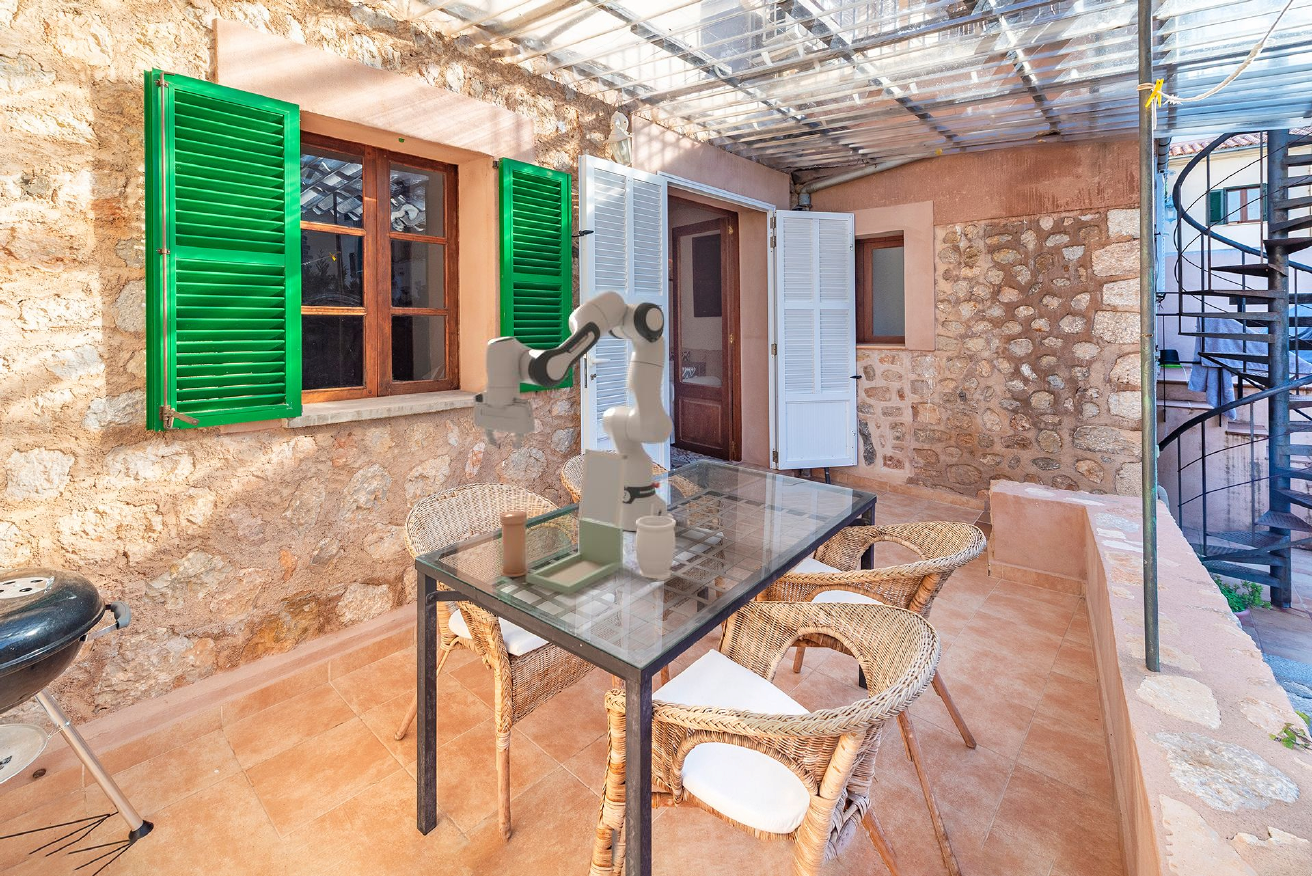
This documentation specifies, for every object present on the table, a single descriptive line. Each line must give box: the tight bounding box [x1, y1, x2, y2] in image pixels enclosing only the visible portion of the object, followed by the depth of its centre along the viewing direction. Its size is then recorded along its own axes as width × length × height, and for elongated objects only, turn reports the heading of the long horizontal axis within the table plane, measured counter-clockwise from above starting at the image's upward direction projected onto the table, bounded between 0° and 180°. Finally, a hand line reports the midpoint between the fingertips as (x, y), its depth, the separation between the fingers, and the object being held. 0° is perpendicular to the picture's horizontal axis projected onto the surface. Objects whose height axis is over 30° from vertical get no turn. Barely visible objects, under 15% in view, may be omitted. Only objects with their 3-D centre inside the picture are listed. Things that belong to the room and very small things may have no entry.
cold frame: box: [525, 518, 624, 596], centre depth 165 cm, size 22×14×12 cm, turn 147°
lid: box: [577, 448, 628, 527], centre depth 171 cm, size 19×14×1 cm
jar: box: [635, 516, 677, 582], centre depth 167 cm, size 11×10×15 cm
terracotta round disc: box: [499, 565, 530, 578], centre depth 167 cm, size 8×8×1 cm
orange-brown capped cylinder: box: [499, 510, 528, 574], centre depth 166 cm, size 7×7×15 cm
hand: (504, 447), depth 176 cm, fingers open, 8 cm apart
